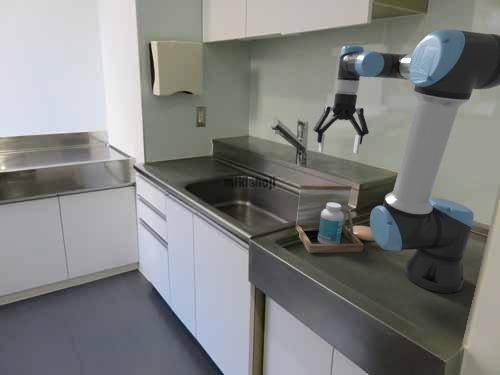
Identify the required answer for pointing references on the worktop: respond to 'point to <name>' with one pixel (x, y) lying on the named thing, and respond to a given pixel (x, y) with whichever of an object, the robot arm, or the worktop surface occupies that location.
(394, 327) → the worktop surface
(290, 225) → the worktop surface
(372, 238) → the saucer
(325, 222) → the pill bottle
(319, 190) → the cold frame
